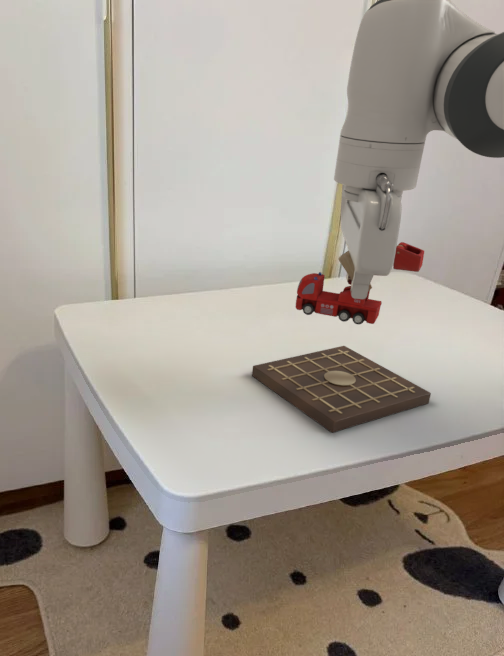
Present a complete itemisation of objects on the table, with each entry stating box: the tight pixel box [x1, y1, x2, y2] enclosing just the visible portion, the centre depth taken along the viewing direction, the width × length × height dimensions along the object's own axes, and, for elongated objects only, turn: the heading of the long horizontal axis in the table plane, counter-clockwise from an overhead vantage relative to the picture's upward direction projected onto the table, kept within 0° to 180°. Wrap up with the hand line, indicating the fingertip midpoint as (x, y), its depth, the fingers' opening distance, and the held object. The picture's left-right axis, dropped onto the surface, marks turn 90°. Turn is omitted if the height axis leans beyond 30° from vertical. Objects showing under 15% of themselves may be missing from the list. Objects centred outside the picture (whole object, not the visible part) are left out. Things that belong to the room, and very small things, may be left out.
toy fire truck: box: [295, 241, 425, 325], centre depth 74 cm, size 3×14×10 cm, turn 66°
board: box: [251, 345, 432, 433], centre depth 81 cm, size 16×16×2 cm
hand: (355, 289), depth 75 cm, fingers closed on toy fire truck, 4 cm apart
